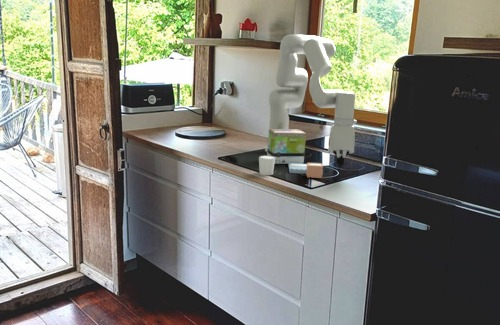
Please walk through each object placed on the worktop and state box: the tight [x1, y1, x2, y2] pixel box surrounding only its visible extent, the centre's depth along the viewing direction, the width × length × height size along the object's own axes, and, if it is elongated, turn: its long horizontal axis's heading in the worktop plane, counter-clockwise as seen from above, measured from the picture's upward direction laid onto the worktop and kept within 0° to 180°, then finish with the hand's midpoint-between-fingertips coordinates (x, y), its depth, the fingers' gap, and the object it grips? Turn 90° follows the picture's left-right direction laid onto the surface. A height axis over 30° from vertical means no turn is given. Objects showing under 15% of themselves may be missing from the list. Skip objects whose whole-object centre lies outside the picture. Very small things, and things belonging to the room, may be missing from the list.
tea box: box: [266, 128, 307, 165], centre depth 212 cm, size 15×10×15 cm, turn 105°
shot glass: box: [258, 155, 276, 176], centre depth 192 cm, size 7×7×7 cm
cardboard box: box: [305, 162, 324, 179], centre depth 191 cm, size 5×6×5 cm
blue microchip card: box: [287, 163, 324, 176], centre depth 200 cm, size 11×14×2 cm
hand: (339, 166), depth 190 cm, fingers closed
